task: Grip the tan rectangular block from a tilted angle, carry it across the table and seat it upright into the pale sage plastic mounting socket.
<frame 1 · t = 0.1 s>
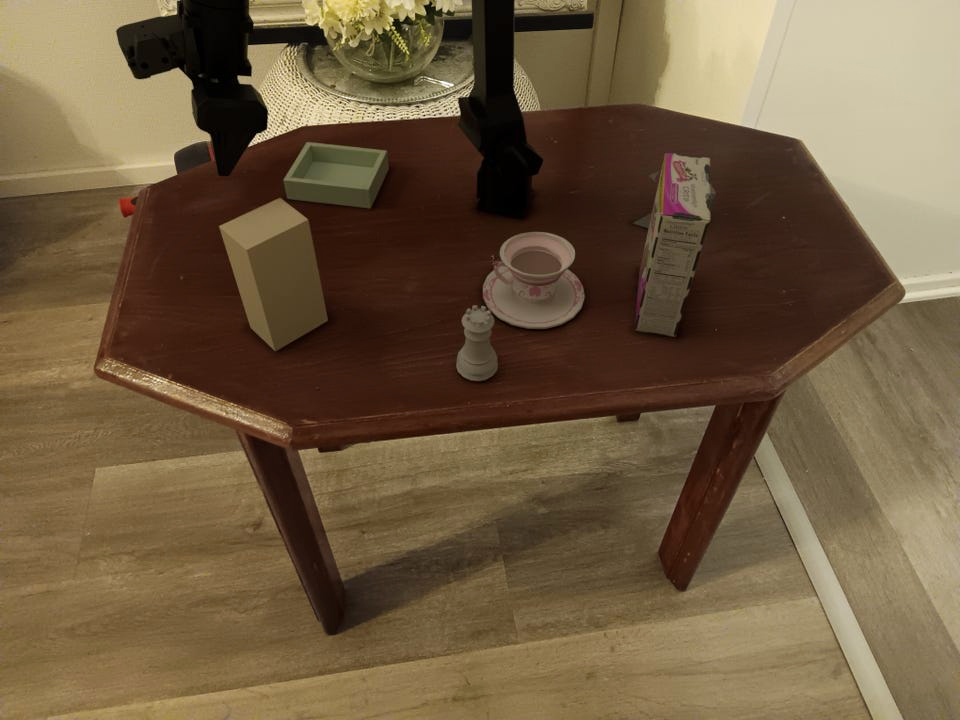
hand: (215, 152, 76), 15 cm above the table, tool pointing down, fingers open, 9 cm apart
candy bar box: (655, 304, 84), on the table
pad socket: (339, 183, 99), on the table
rook chess piece: (477, 369, 77), on the table
teacup: (533, 296, 85), on the table
tan rectangular block: (289, 324, 81), on the table
paper boat: (672, 216, 96), on the table
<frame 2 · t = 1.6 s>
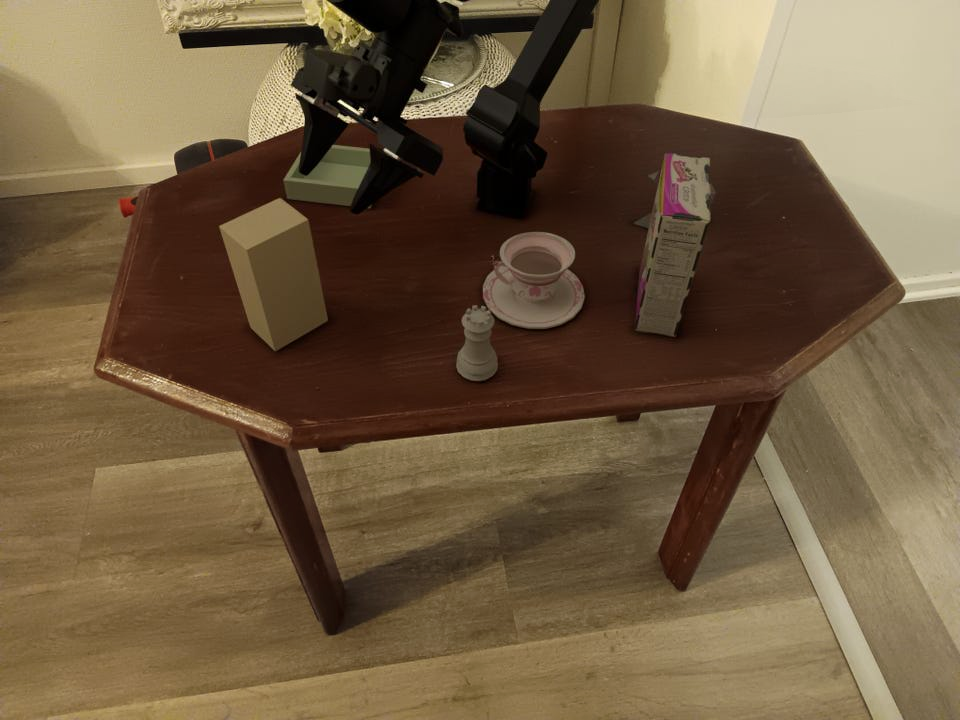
hand: (327, 192, 75), 13 cm above the table, tool tilted 45°, fingers open, 9 cm apart
nothing on the table moved.
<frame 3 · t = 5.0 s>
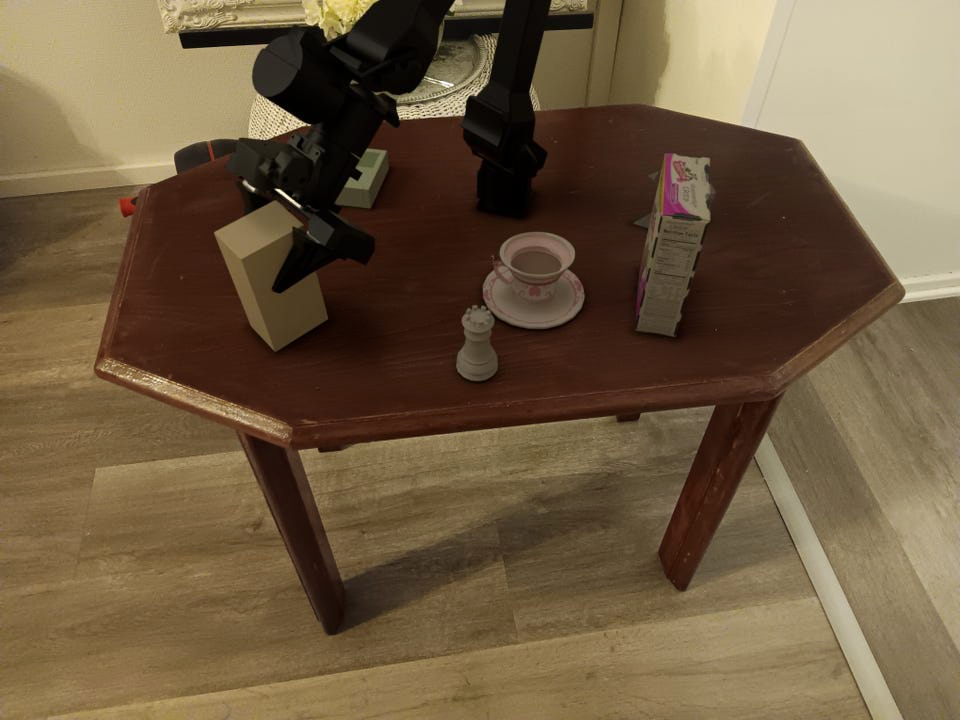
hand: (257, 275, 74), 8 cm above the table, tool tilted 45°, fingers closed on tan rectangular block, 6 cm apart
tan rectangular block: (289, 322, 80), on the table, tilted 5°, touching gripper
everything else where it was.
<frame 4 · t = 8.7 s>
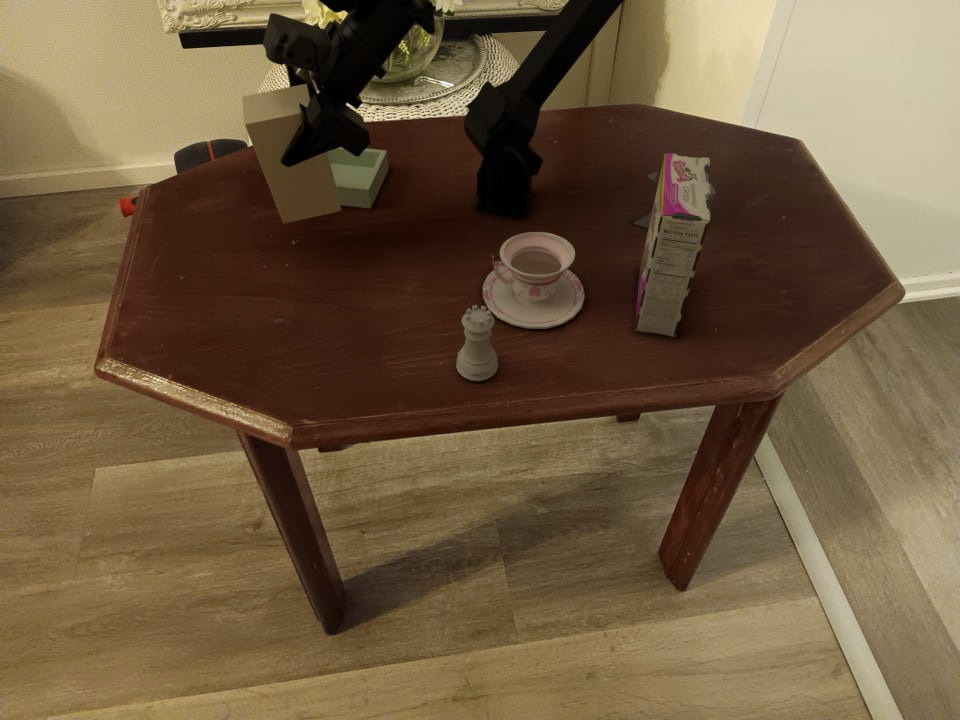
hand: (280, 150, 80), 13 cm above the table, tool tilted 45°, fingers closed on tan rectangular block, 6 cm apart
tan rectangular block: (310, 203, 87), point 5 cm above the table, tilted 9°, touching gripper
everything else where it was.
when the fingers open (9 cm above the table, at t = 12.8 s): tan rectangular block stays where it is, resting on pad socket.
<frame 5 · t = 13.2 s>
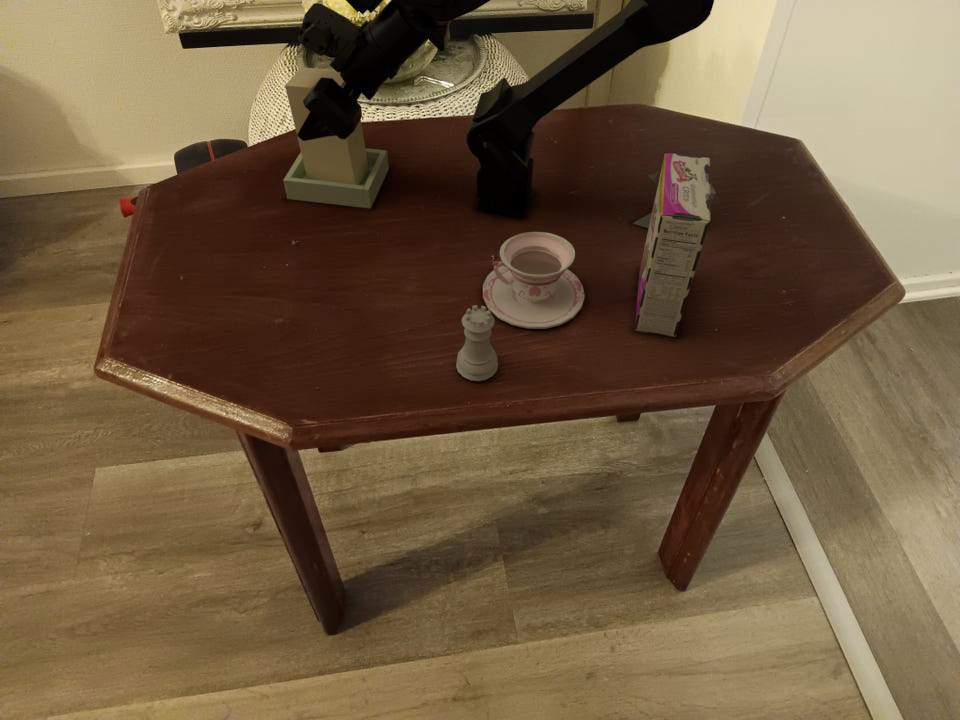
hand: (312, 119, 93), 9 cm above the table, tool tilted 45°, fingers open, 9 cm apart
tan rectangular block: (339, 176, 99), point 1 cm above the table, touching gripper, pad socket
everything else where it was.
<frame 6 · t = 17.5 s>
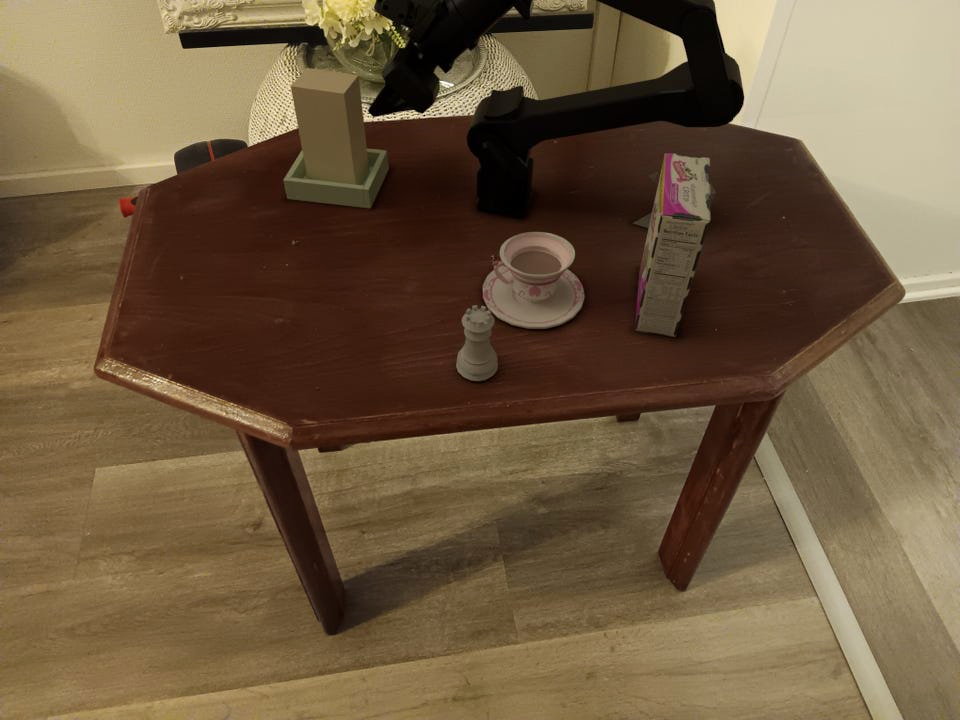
hand: (380, 95, 89), 14 cm above the table, tool tilted 45°, fingers open, 9 cm apart
tan rectangular block: (339, 177, 99), resting on pad socket
everything else where it was.
at the end: tan rectangular block 0.7 cm off-centre in the pad socket, point 0.5 cm above the pad socket's base; tan rectangular block tilted 0°; the gripper is holding nothing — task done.
